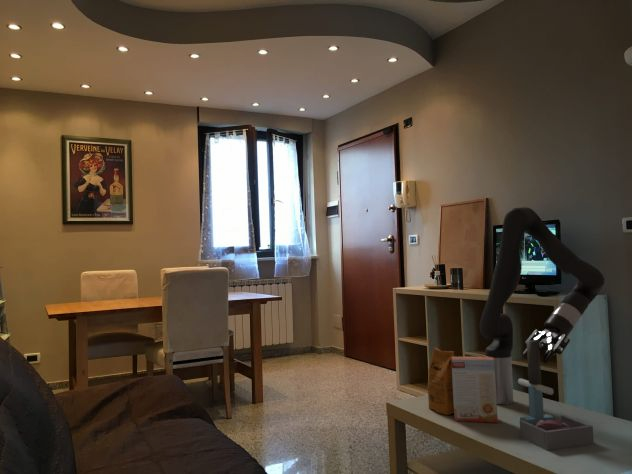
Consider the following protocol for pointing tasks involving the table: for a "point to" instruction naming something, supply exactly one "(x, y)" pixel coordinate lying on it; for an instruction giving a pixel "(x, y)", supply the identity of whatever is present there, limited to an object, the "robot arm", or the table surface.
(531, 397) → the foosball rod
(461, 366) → the cracker box
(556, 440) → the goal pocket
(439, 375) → the coffee package
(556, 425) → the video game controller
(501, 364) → the robot arm
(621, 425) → the table surface
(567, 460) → the table surface
